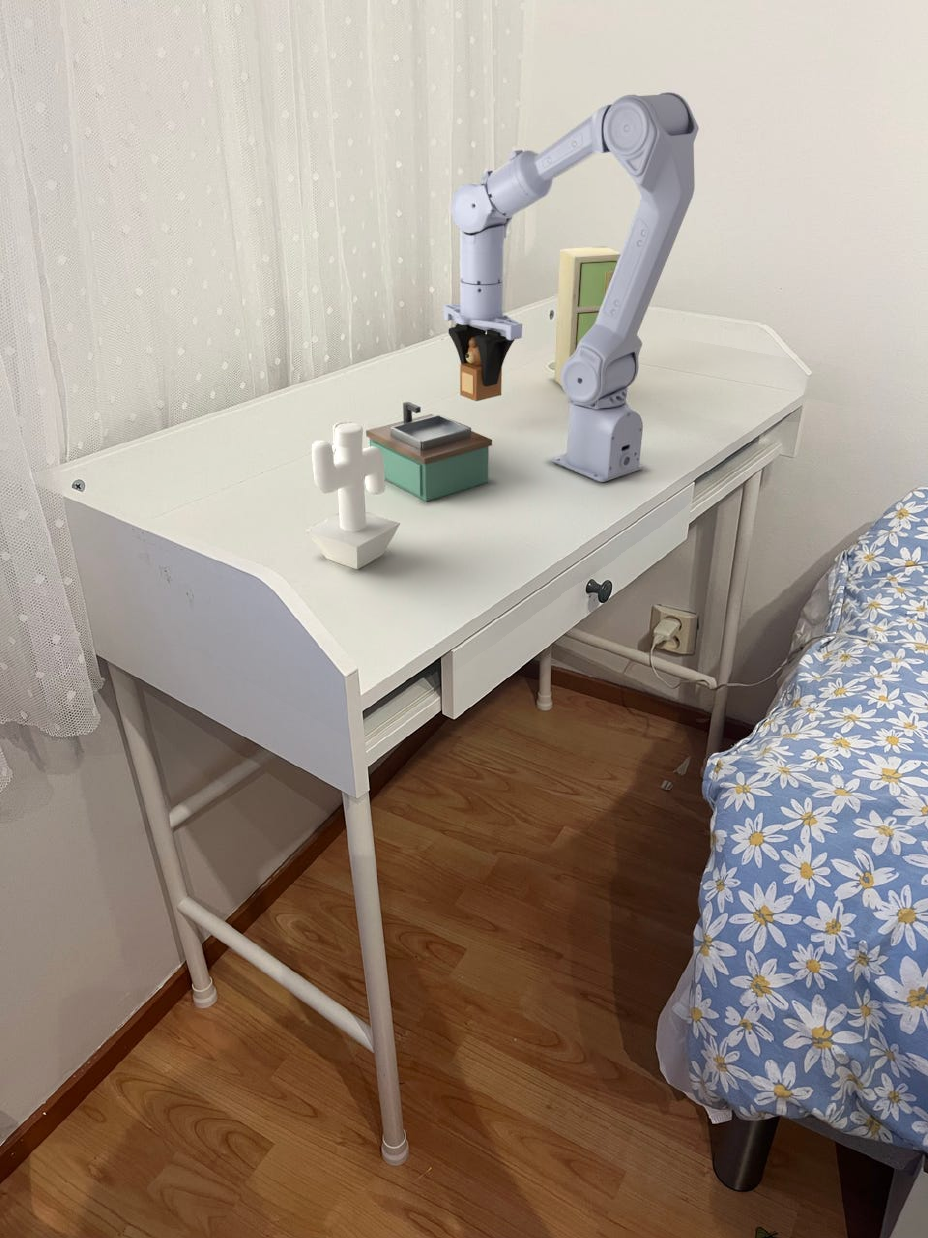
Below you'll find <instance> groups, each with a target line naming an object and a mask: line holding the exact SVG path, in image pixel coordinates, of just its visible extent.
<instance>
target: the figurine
mask: <svg viewBox="0 0 928 1238" xmlns="http://www.w3.org/2000/svg"><path fill="white" fill-rule="evenodd" d="M363 432H364V428H363V426H362V425H361V424H358V423H355V422H347V421H345V420H343V421H339V422H336V423H334V424H333V426H332V438H333V439H332V443H333V444H330V443H329V442H328V441H326V440H316V441H314V442H313V443H312V445H311V458H312V459H311V460H312V469H313V479H314V484H315V485H316V489H317V490H318V491H319V492H321V493H323V494H331V493H334V492H336V491H337V495H338V496H337V497H338V508H339V509H338V513H336V514H334V515H331V516H330V517H328V518H326V519H324V520H322V521H320V522H318V523H315V524H314V525H312V526H310V527H308V528H306V529H305V532H307V534H308V535H309V536H310V538H311V540H312V541H313V542H314V543H315V545H316V546H317V547H318V549H319V550H320V551H321V553H322V554H323V556H324V557H325V558H326V559H327V560H329V561H332V562H335V563H338V564H341V565H343V566H346V567H349V568H351V569H354V570H359V569H361V568H363V567H364V566H366V565H368V564H370V563H371V562H373V561H375V560H377V559H378V558H380V557H382V556H384V554H385V552H386V550H387V549H388V546H389V545H390V544H391V541H392V540H393V538H394V536H395V534H396V533H397V530H398V529H399V527H400V525H401V522H397V521H395V520H391V519H388V518H386V517H382V516H379V515H376V514H372V513H369V512H366V493H365V489H366V491H367V492H368V493H370V494H372V495H382V494H384V493H385V491H386V480H385V472H384V459H383V455H382V453H381V451H380V450H379V449H378V448H377V447H374V446H371V447H370V446H366V447H365V448H363V437H364V435H363ZM334 453H335V454H334Z"/></svg>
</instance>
